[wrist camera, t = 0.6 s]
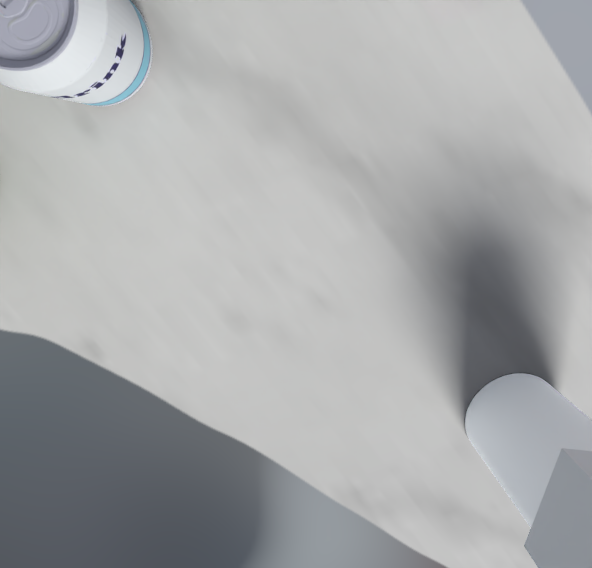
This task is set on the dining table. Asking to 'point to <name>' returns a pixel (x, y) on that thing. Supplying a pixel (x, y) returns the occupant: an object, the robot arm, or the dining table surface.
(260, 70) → the dining table surface
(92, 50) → the beverage can
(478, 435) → the cup
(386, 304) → the dining table surface
